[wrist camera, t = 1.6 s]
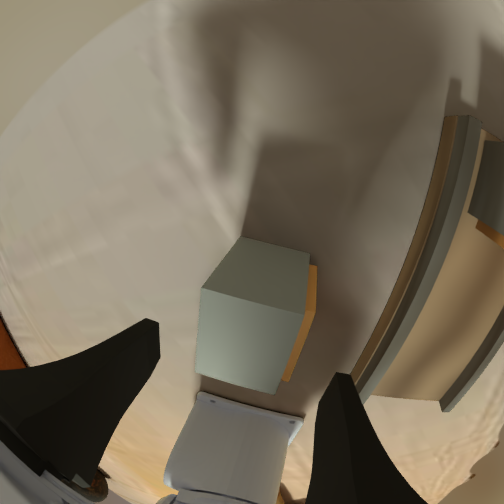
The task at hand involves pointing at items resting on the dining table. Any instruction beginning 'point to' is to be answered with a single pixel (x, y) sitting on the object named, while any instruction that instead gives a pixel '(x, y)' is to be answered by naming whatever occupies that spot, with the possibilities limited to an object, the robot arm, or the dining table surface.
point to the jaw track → (446, 280)
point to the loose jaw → (256, 315)
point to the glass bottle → (91, 488)
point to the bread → (8, 352)
